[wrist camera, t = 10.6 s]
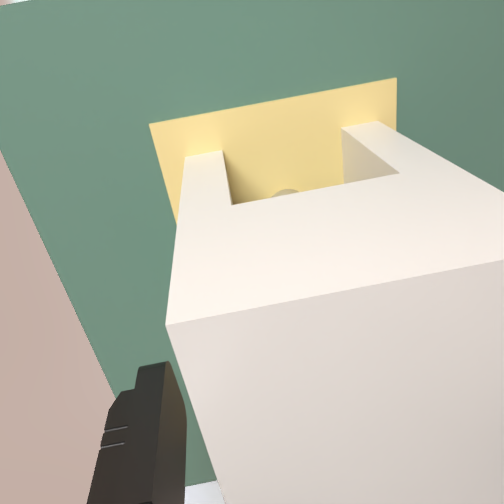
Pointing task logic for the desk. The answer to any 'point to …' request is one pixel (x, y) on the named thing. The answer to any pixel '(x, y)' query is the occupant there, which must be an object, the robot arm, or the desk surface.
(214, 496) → the desk surface
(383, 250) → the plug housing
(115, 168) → the header board
